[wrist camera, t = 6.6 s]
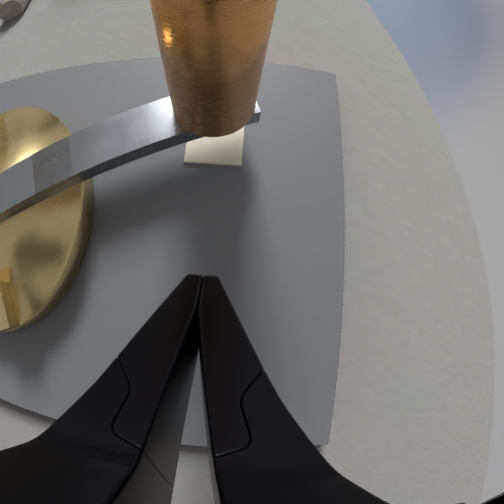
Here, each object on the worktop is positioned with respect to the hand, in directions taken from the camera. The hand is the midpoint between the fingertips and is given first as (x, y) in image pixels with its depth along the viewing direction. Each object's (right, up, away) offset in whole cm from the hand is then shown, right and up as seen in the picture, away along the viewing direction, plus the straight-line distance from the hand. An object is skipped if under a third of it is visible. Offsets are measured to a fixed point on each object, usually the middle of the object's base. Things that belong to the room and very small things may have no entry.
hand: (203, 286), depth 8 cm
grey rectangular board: (-11, +3, +8) cm, 14 cm away
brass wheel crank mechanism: (-10, +5, +7) cm, 13 cm away
